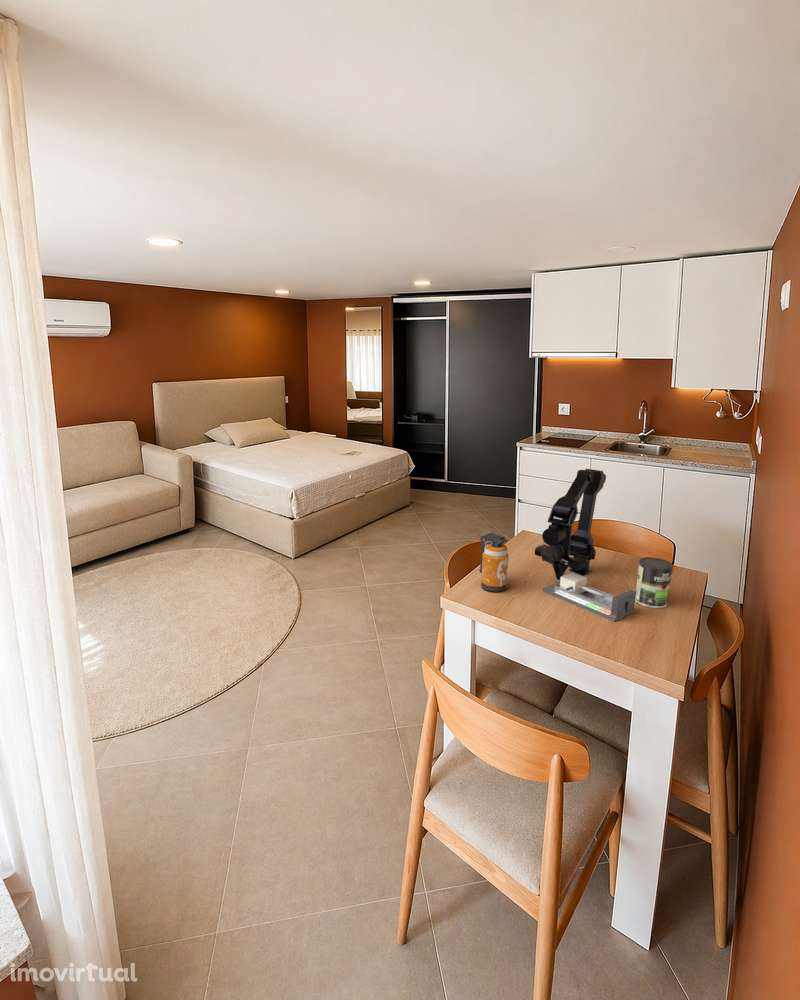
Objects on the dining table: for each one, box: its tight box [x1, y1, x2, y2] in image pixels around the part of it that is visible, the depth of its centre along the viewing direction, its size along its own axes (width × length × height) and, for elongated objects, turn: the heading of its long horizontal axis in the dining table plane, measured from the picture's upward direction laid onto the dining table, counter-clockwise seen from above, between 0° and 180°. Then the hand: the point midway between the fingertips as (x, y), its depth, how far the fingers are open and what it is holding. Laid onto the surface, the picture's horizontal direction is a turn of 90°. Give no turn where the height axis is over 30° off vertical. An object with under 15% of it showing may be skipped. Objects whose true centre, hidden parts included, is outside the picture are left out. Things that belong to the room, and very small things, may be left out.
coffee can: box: [635, 556, 674, 609], centre depth 182 cm, size 10×10×14 cm
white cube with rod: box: [560, 571, 605, 598], centre depth 184 cm, size 9×15×5 cm, turn 37°
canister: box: [478, 531, 510, 593], centre depth 192 cm, size 9×11×20 cm
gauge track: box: [542, 580, 637, 622], centre depth 183 cm, size 12×28×7 cm, turn 37°
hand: (558, 579), depth 193 cm, fingers closed
